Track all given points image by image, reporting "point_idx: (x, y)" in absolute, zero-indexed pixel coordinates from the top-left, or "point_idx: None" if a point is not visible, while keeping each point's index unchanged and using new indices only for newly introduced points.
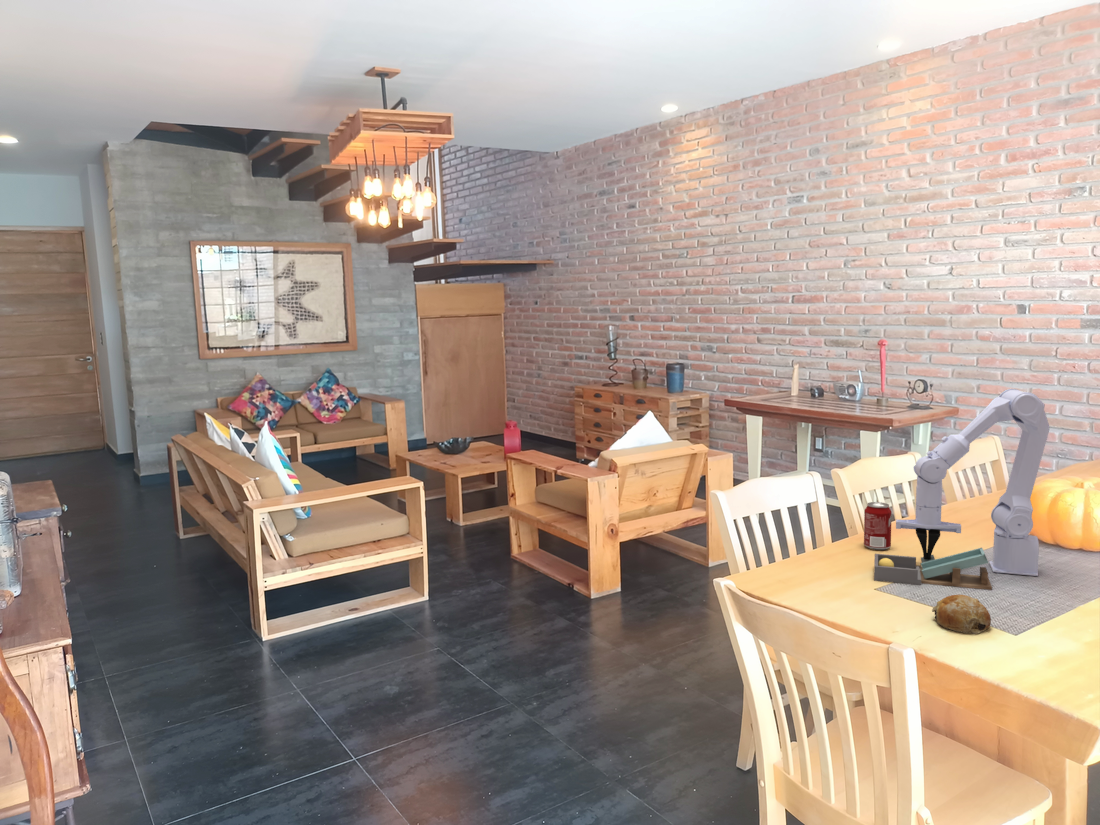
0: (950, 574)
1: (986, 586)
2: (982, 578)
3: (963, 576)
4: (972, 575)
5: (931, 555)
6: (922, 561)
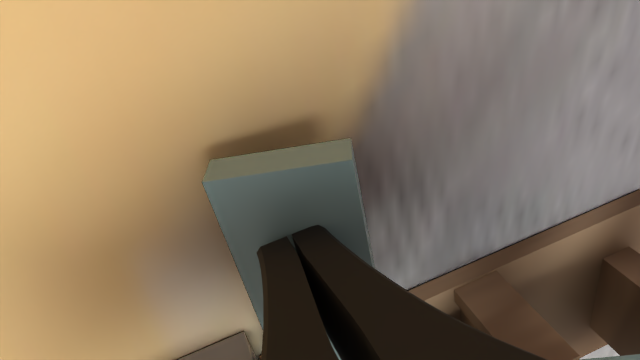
0: (457, 307)
1: (600, 344)
2: (617, 348)
3: (525, 290)
4: (577, 240)
5: (334, 184)
6: (260, 298)
